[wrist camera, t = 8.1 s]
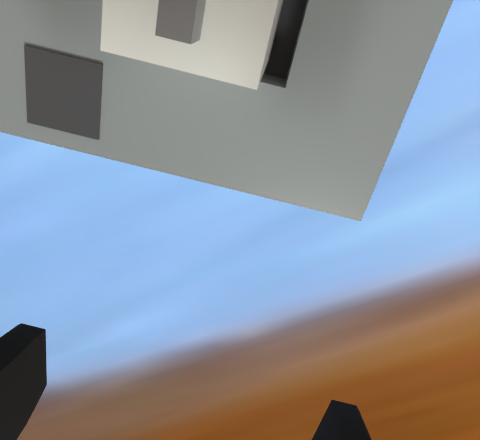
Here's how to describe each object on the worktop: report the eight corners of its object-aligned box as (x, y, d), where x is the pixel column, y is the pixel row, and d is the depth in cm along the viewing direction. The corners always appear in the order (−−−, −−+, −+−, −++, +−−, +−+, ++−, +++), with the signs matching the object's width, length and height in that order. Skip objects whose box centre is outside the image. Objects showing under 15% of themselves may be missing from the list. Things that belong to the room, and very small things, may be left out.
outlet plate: (354, 199, 18) (361, 222, 16) (-4, 110, 18) (-38, 123, 16) (495, -156, 12) (530, -183, 10) (-34, -290, 12) (-93, -340, 10)
